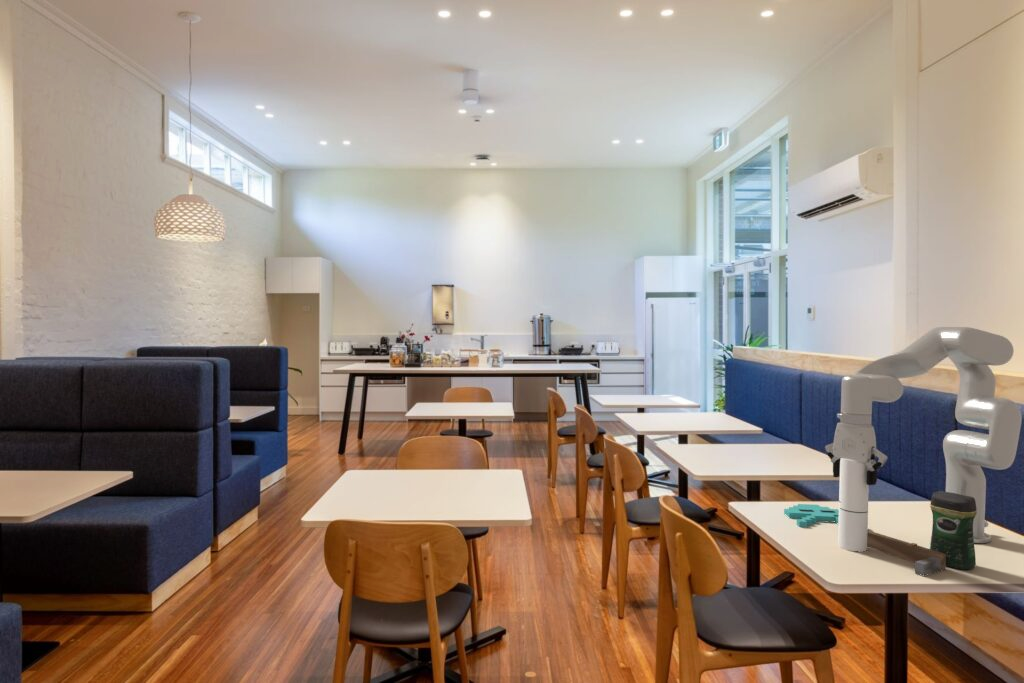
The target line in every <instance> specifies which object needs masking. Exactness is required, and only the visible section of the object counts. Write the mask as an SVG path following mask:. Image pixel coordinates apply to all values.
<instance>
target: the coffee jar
mask: <svg viewBox="0 0 1024 683" xmlns="http://www.w3.org/2000/svg"><path fill="white" fill-rule="evenodd" d="M929 506H930V510H931V513H932V528H931V537H930V543H929V549H931V550H934V551H938V552H941V553H944V554H946V567H949V568H953V567H954V568H953V569H960V570H971V569H974V568H975V567H976V565H977V564H976V562H977V561H976V549H975V543H974V538H973V520H974V517H975V516H976V514H977V509H976V502H975V499H974V498H973V497H970V496H965V495H960V494H956V493H950V492H946V491H943V490H938V491H935V492H933V493H932V495H931V498H930V504H929Z"/></svg>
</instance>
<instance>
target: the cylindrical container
mask: <svg viewBox="0 0 1024 683" xmlns="http://www.w3.org/2000/svg"><path fill="white" fill-rule="evenodd" d="M868 470H869V468H868V467H867V465H866V464H865V463H860V462H857V461H853V460H849V459H844V458H840V477H839V482H838V483H839V486H838V488H839V490H838V491H839V494H838V510H839V519H838V524H837V526H838V529H837V546H838V547H839V546H840V547H841V548H840V547H839V548H840V549H842V548H844V549H843V550H845V549H846V550H845V551H849V550H850V552H854V551H858V552H857V553H864V552H863V551H865V552H866V550H868V547H867V530H868V529H869V527H868V526H869V525H868V524H869V522H868V521H869V494H870V492H869V490H870V488H869V487H870V485H867V471H868Z"/></svg>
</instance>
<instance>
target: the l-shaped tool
mask: <svg viewBox="0 0 1024 683" xmlns="http://www.w3.org/2000/svg"><path fill="white" fill-rule="evenodd" d="M870 547H871V548H870ZM867 548H870V549H873V548H874V550H876V549H877V550H876V551H879V550H880V552H882V551H883V552H882V553H886V554H888V553H889V555H891V556H895V557H897V556H898V558H901V559H904V560H907V561H909V562H912V563H914V564H915V565H914V574H915V573H918V574H921V575H927V574H930V573H933V574H935V573H934V572H936V573H938V572H937V571H939V572H942V571H944V570H946V568H947V566H946V554H944V553H941V552H938V551H934V550H931V549H930V548H927V547H924V546H921V545H918V543H915V542H912V543H911V542H909V541H904V540H901V539H898V538H894V537H891V536H888V535H884V534H881V533H879V532H875V531H872V530H870V529H869V528H868V530H867ZM941 570H942V571H941ZM918 574H917V575H918ZM921 575H920V576H921ZM930 575H931V574H930ZM927 576H928V575H927Z"/></svg>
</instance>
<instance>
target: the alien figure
mask: <svg viewBox="0 0 1024 683" xmlns="http://www.w3.org/2000/svg"><path fill="white" fill-rule="evenodd" d="M783 511H784V512H783V514H784V515H785V514H786V515H787V516H788V517H790V518H789V519H796V526H797V527H799V528H808V526H813V525H812V524H815V523H816V524H817V521H835V522H836V523H835V522H834V523H835V524H837V523H838V519H839V508H830V507H828V506H820V505H819V504H813V503H812V504H811V503H810V504H809V503H808V504H807V503H797V505H793V506H792V507H791V506H789V507H788V508H784V509H783ZM786 515H785V516H786ZM787 516H786V517H787ZM788 517H787V518H788ZM797 518H802V519H797Z"/></svg>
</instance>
